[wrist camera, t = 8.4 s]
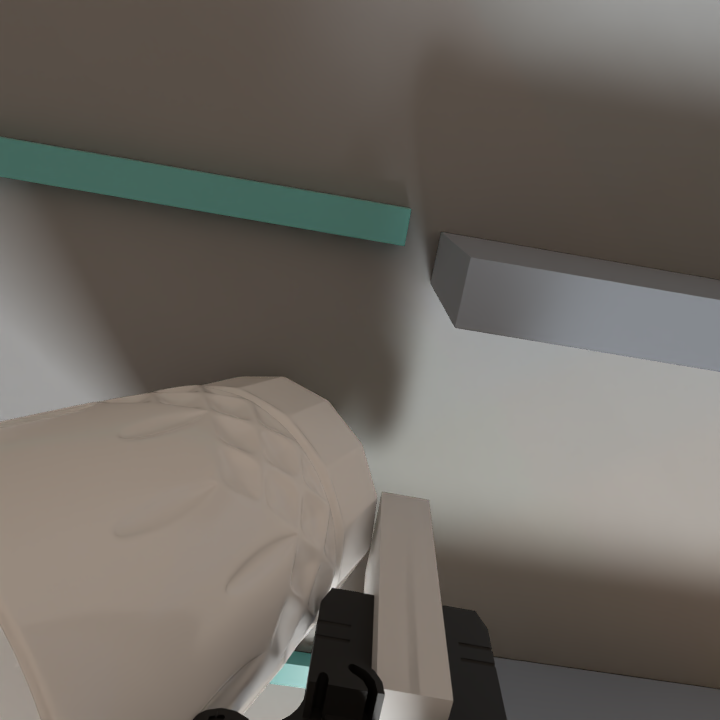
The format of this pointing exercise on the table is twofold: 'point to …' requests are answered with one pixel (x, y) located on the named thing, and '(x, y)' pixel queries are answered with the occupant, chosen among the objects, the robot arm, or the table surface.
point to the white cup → (171, 546)
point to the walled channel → (597, 333)
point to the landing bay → (208, 197)
